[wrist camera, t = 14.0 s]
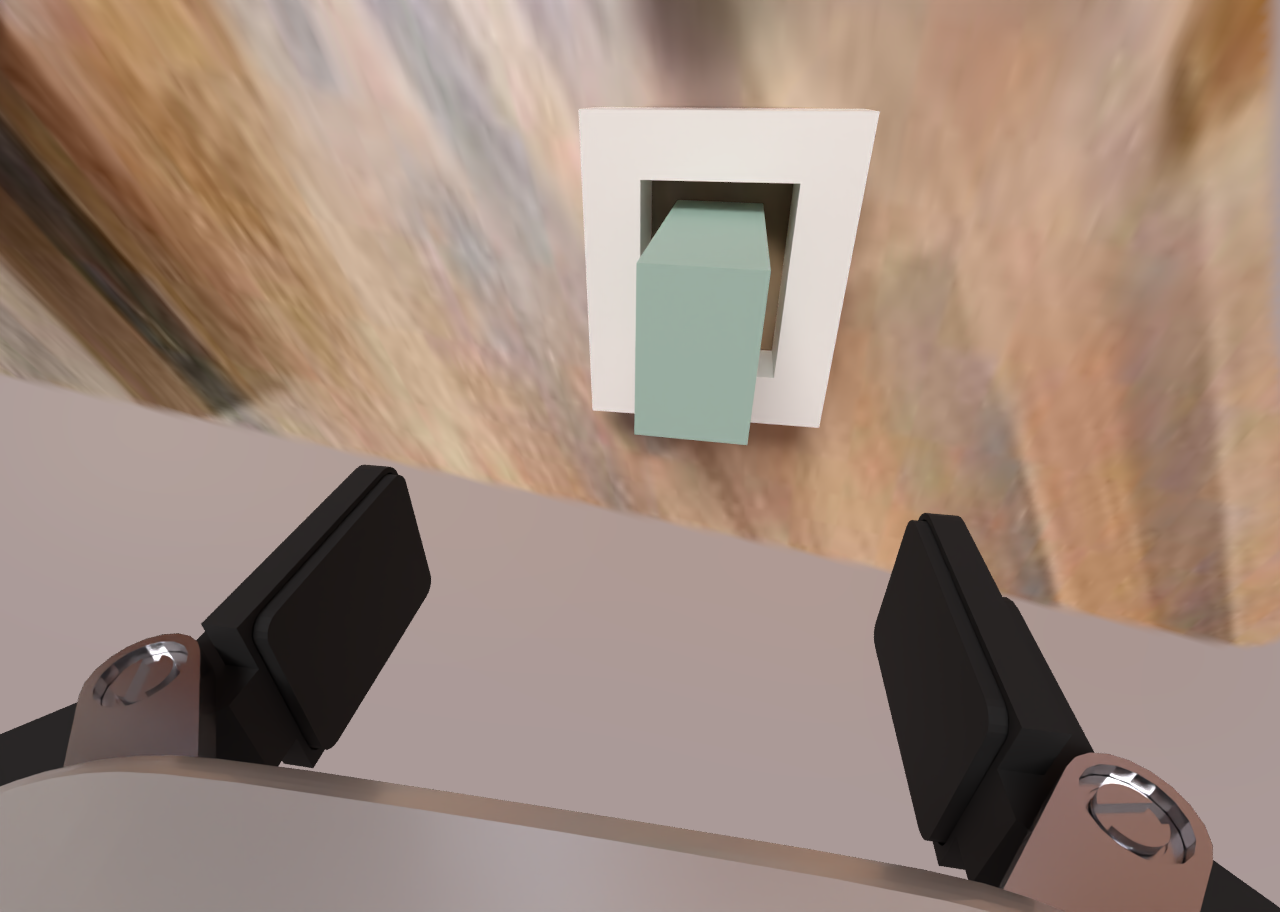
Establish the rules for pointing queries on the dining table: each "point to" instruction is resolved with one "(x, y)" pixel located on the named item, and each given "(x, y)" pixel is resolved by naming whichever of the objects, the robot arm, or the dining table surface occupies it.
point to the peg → (701, 322)
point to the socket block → (726, 152)
